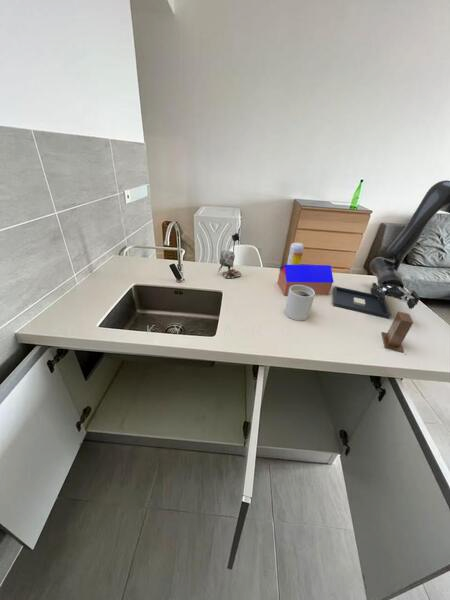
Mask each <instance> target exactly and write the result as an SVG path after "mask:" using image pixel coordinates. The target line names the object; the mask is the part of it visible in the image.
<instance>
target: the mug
mask: <svg viewBox="0 0 450 600" xmlns="http://www.w3.org/2000/svg"><path fill="white" fill-rule="evenodd" d="M314 299H315V292H314V290H313V289H311V288H309V287H307V286H303V285H293V286H291V287H290V288H289V293H288V296H287V298H286V302H285V307H284V314H285V315H286V317H287V318H289V319H292V320H294V321H306V320H307V319H308V318H309V316H310V314H311V310H312V305H313V303H314Z"/></svg>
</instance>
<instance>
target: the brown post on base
mask: <svg viewBox="0 0 450 600" xmlns="http://www.w3.org/2000/svg"><path fill="white" fill-rule="evenodd" d="M413 324H414V321H413V319H412V317H411V314H410V313H408V312H402V311H397V312H396V315H395V317H394V319H393V321H392V323H391V325H390V326H389V329H388V331H387V332H384V331H381V333H380V334H381V339H382V343H383V347H384V349H387V350H390V351H394V352H397V353H401V354H404V351H405V350H404V347H403V344H402V343H403V342H404V340H405V338H406V336H407V335H408V333H409V331H410V329H411V328H412V326H413Z"/></svg>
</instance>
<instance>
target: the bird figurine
mask: <svg viewBox="0 0 450 600" xmlns="http://www.w3.org/2000/svg"><path fill="white" fill-rule="evenodd" d="M231 239H232V241H233V248H232V251H231V250H227V249H224V250H221V253H220V258H219V264H220V267H219V268H218V270H217V273H219V272H220V271H221V270H222V268H223V267H226V268H227V270H226V271H223V272H222V276H223V277H224V278H226V279H233V278H235V277H241V276H242V273H241V272H240V271H239V270H236V269H235V268H233V267H234V262H235V258H236V256H235V245H236V242H237V241H239V242H241V240H240V235H239V233H238V232H235V233H233V234H232V235H231Z"/></svg>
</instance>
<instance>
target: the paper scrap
mask: <svg viewBox="0 0 450 600" xmlns="http://www.w3.org/2000/svg"><path fill="white" fill-rule="evenodd" d="M353 300H354V304H357V305H361V306H365V300H364V299H360V298H355V297H354V299H353Z"/></svg>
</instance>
